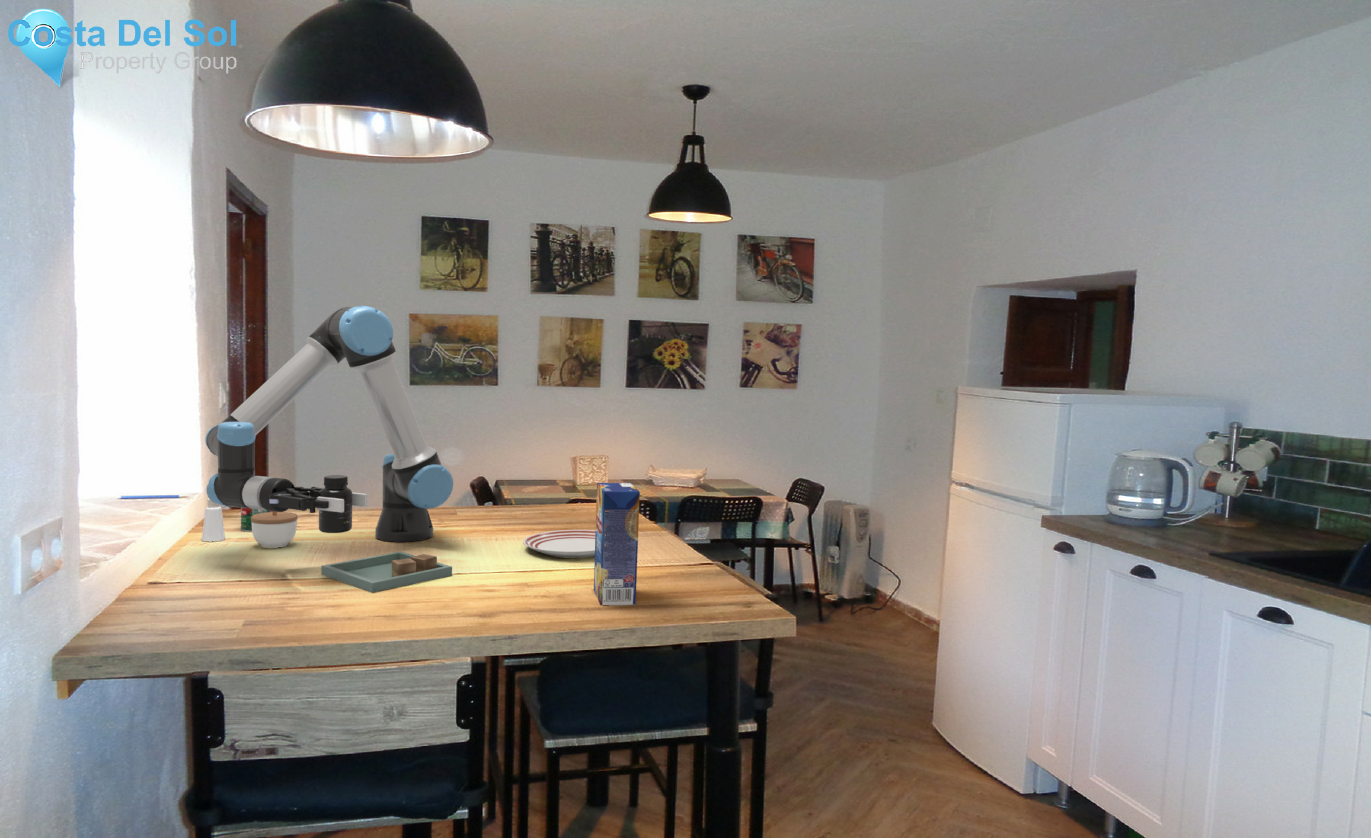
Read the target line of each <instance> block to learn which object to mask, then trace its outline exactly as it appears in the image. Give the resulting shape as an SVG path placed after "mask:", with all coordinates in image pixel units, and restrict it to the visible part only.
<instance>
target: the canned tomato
mask: <svg viewBox="0 0 1371 838" xmlns="http://www.w3.org/2000/svg"><path fill="white" fill-rule="evenodd" d="M268 512H272V511H267V510H263V511H262V512H258V509H250V508H240V531H241V532H245V531H249V532H248V533H251V532H250V531H252V521H251V517H252V516H253V515H256V514H260V513H268Z"/></svg>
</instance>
